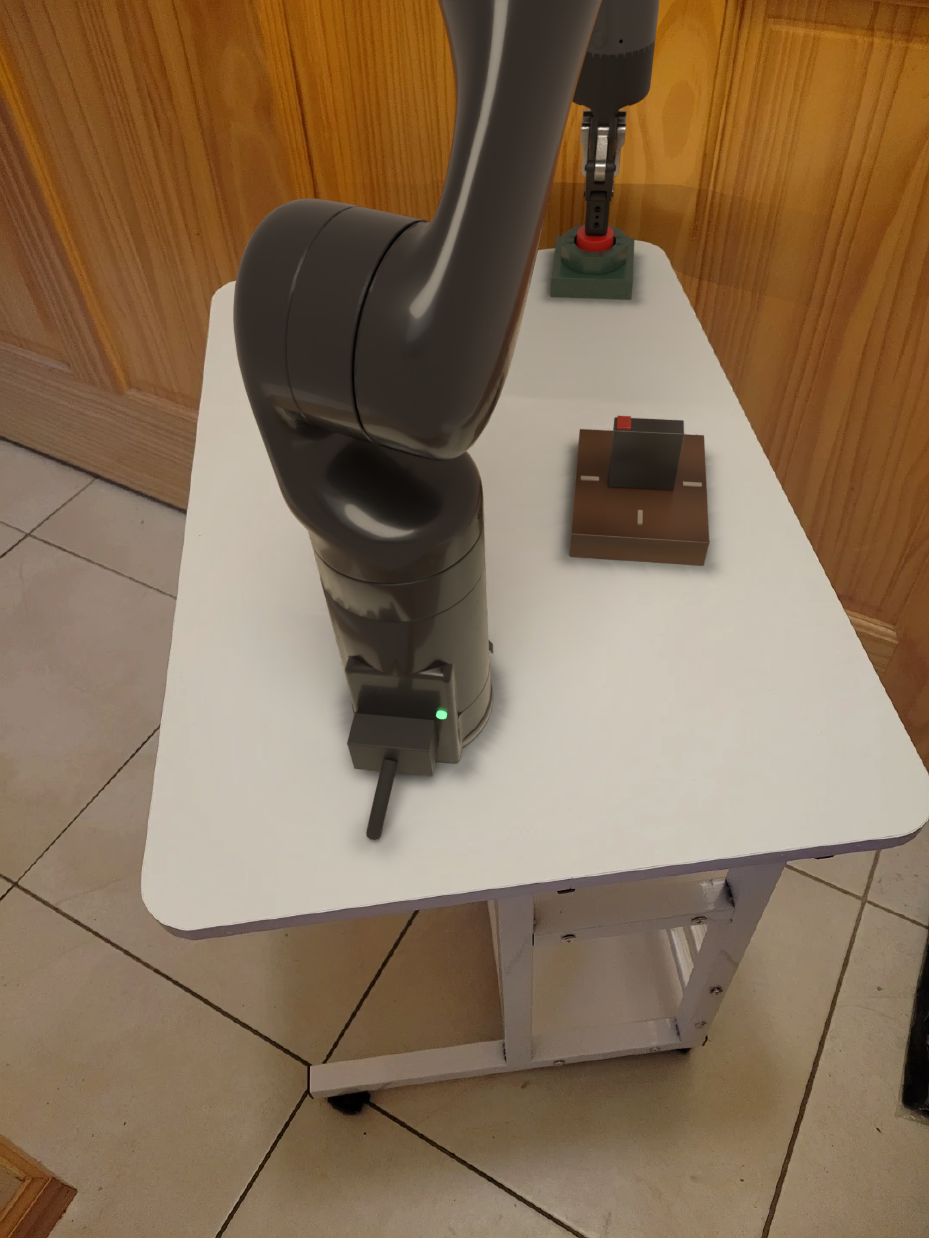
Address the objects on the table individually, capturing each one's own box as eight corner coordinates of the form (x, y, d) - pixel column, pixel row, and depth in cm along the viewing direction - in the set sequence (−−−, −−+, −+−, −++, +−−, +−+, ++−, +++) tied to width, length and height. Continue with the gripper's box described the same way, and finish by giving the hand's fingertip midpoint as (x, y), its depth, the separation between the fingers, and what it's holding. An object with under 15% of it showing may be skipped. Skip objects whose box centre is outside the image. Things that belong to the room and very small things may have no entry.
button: (611, 259, 88) (613, 242, 87) (575, 258, 89) (576, 241, 87) (612, 240, 90) (614, 223, 89) (577, 239, 91) (578, 222, 89)
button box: (630, 300, 89) (635, 263, 86) (550, 297, 90) (551, 260, 87) (632, 257, 94) (636, 220, 91) (555, 255, 95) (557, 219, 92)
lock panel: (703, 565, 67) (709, 541, 65) (569, 557, 68) (571, 532, 66) (699, 458, 74) (704, 433, 72) (577, 452, 75) (579, 427, 73)
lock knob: (673, 476, 69) (684, 417, 65) (673, 490, 68) (684, 431, 64) (608, 473, 70) (614, 414, 65) (607, 487, 69) (614, 428, 64)
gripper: (656, 64, 70) (633, 269, 84) (656, 4, 78) (635, 200, 92) (560, 64, 71) (553, 267, 84) (570, 4, 79) (562, 198, 93)
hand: (596, 231), depth 88 cm, fingers closed
